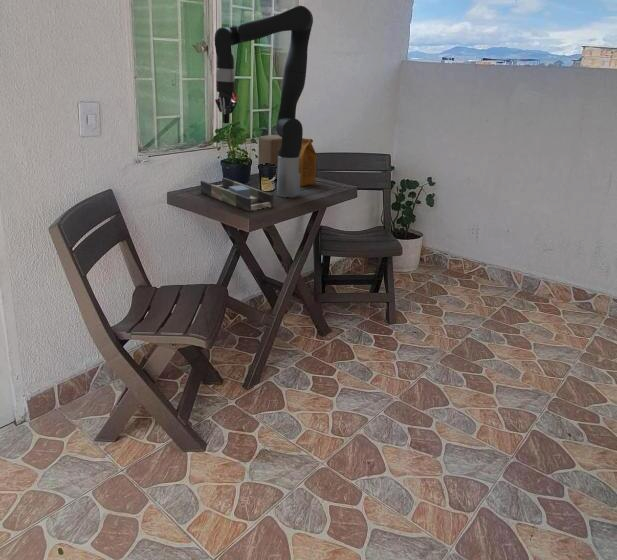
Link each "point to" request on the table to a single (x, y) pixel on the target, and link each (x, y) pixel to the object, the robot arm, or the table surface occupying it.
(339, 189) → the table surface
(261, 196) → the trap lane
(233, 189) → the slate block
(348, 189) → the table surface
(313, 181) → the coffee package
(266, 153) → the block
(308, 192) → the table surface
